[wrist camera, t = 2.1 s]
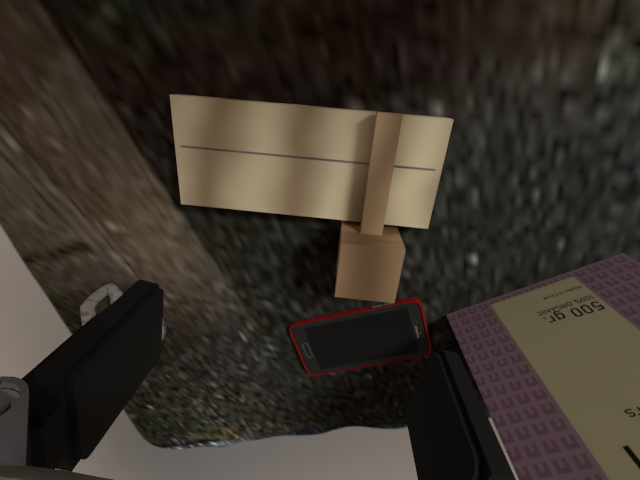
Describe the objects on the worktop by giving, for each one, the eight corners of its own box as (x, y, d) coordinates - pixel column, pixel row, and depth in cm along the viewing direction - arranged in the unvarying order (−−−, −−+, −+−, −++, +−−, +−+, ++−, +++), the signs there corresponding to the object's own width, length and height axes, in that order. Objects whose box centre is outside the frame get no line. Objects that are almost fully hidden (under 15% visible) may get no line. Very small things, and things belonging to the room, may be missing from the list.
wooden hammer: (415, 113, 26) (433, 118, 21) (385, 270, 33) (393, 306, 27) (354, 108, 27) (356, 112, 21) (336, 265, 33) (334, 299, 27)
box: (623, 252, 30) (1048, 498, 12) (637, 324, 33) (993, 608, 15) (445, 314, 34) (557, 565, 16) (472, 372, 37) (591, 639, 19)
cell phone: (287, 321, 37) (286, 326, 36) (419, 293, 34) (421, 299, 33) (308, 371, 39) (308, 377, 39) (431, 349, 37) (433, 355, 36)
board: (446, 117, 26) (453, 119, 24) (423, 220, 30) (427, 228, 28) (181, 94, 27) (169, 94, 25) (190, 197, 31) (180, 204, 29)
